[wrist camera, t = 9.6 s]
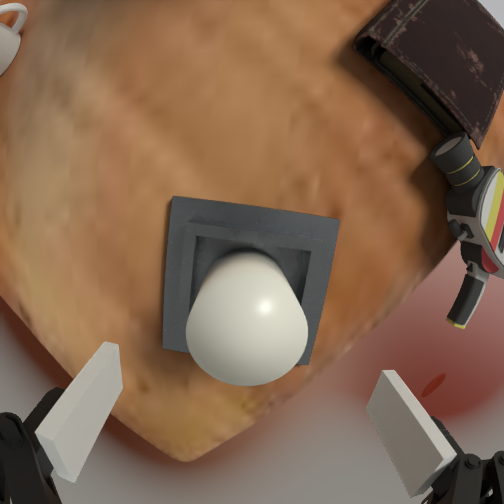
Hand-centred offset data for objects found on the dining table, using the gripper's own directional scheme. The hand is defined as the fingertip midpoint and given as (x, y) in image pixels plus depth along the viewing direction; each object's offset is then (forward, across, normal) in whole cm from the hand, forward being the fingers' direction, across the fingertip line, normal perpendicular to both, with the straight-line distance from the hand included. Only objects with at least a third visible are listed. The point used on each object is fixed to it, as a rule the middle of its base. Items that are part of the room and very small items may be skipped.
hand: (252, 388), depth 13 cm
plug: (+16, 0, 0) cm, 16 cm away
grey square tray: (+17, 0, 0) cm, 17 cm away
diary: (+18, +22, +33) cm, 43 cm away
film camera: (+17, +24, +8) cm, 30 cm away
